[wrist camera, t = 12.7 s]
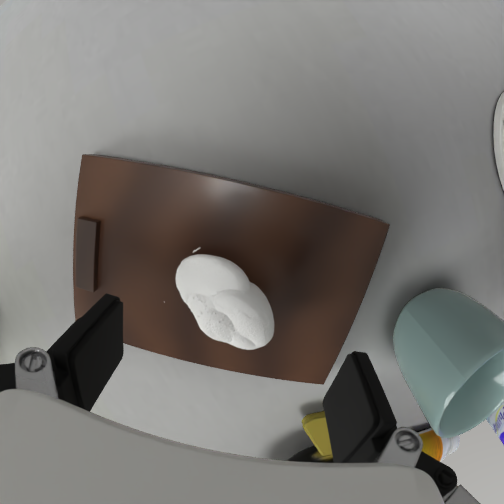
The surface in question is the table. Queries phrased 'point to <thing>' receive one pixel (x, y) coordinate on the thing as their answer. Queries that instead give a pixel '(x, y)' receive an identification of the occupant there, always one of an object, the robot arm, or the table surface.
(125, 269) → the bread board
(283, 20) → the table surface
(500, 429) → the bottle
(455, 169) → the table surface
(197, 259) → the dumpling
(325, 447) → the alarm clock
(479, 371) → the cup
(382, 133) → the table surface
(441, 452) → the supplement bottle
